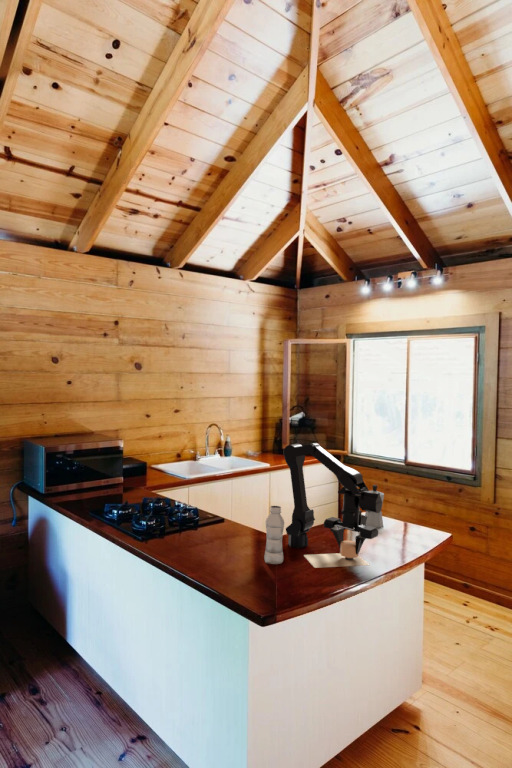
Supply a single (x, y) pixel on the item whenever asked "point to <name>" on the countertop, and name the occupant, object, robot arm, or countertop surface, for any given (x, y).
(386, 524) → the countertop surface
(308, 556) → the board
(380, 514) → the coffee maker
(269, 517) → the plastic bottle
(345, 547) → the cap
